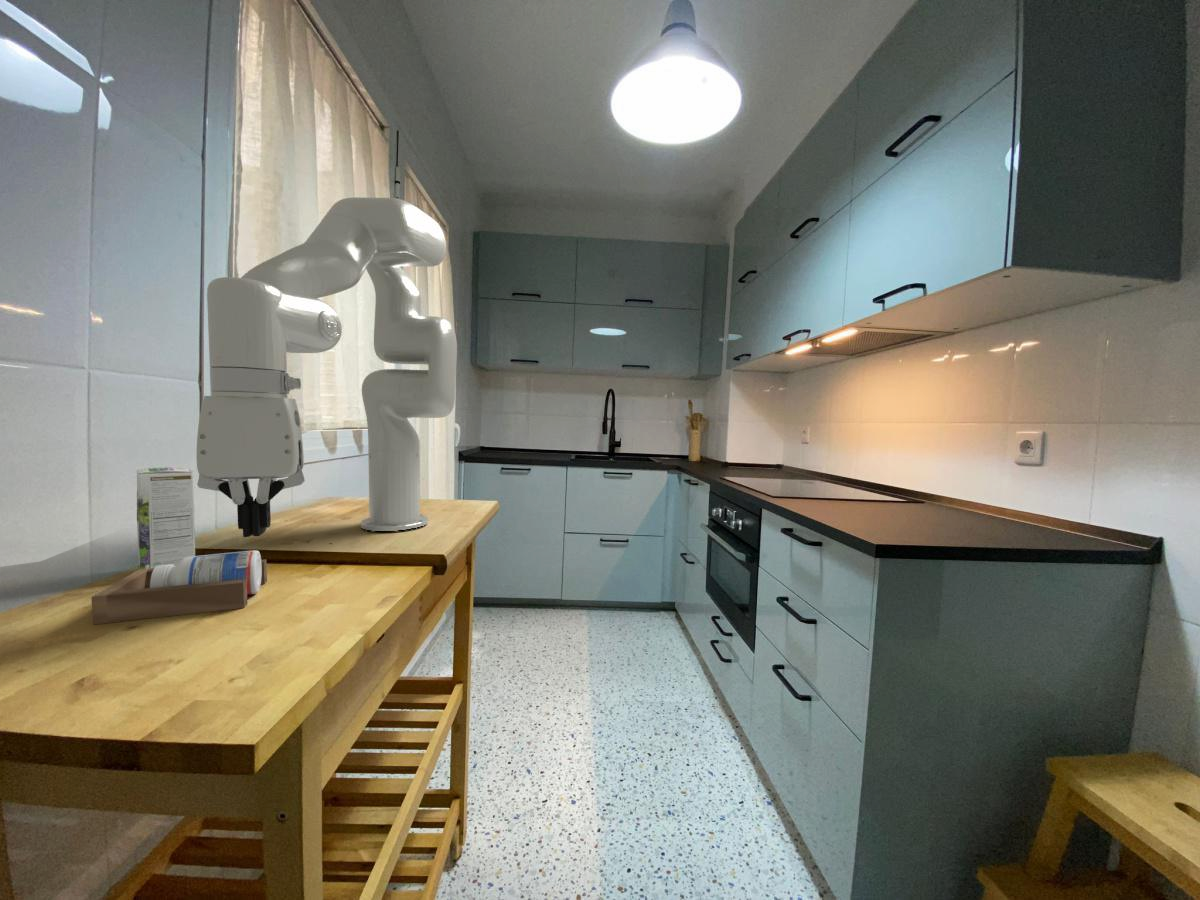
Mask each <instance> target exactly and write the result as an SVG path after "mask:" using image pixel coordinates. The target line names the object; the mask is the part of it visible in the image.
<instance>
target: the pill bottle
mask: <svg viewBox="0 0 1200 900" xmlns="http://www.w3.org/2000/svg"><path fill="white" fill-rule="evenodd" d="M261 560H262V556H261V553H260V551H259V550H256V549H255V550H254V549H253V550H245V551H244V550H243V551H236V552H235V551H234V552H224V553H214V554H213V553H212V554H204V555H202V554H201V555H195V556H191V557H186V558H184V559H183V560H182V561H181V562H180V563H179V565H177V566H174V565H173V564H171V565H170V564H168V565H160V566H156V567H155V568H154V570H153V572H152V575H151V581H150V588H157V587H168V586H179V585H190V584H201V583H212V582H222V581H233V580H244V579H247V596H248V595H255V594H258V593H259V591H260V588H261V585H262V584H261V577H262V564H261Z"/></svg>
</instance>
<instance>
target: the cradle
mask: <svg viewBox="0 0 1200 900" xmlns="http://www.w3.org/2000/svg"><path fill="white" fill-rule="evenodd" d="M261 564H262V577H261V584H260V585H265V584H266V583H268V570H267V569H268V568H267V567H268V566H267V565H268V564H267V558H265V559H264V558H263V559H261ZM153 570H154V568H150V569H139V568H138V570H136V571H134V572H132V573H131V574H129V575H127V576H126V577H124V578H122V579H120V580H118V581H117V582H115V583H113V584H111V585H110V586H108V587H106V588H105V589H102V590H100V591H99V592H97V593H95V594H94V595H93V596H91V598H90V599H91V614H92V616H91V617H92V625H101V624H102V625H103V624H110V623H118V622H128V621H136V620H146V619H147V620H148V619H155V618H163V617H173V616H182V615H192V614H200V613H210V612H218V611H227V610H236V609H244V608H246V606H247V605H248V595H247V579H244V580H233V581H222V582H212V583H201V584H190V585H179V586H168V587H157V588H150V581H151V575H152V572H153Z"/></svg>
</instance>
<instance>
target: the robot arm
mask: <svg viewBox="0 0 1200 900" xmlns="http://www.w3.org/2000/svg"><path fill="white" fill-rule="evenodd" d="M446 253H447V241H446V236H445V233H444V232H443V229H442V227H441V226H440V225H439V223H438V222H437V221H436V220H435V219H434V218H432V217H431V216H430V215H428V214H427V213H426V212H424V211H423V210H421V209H420V208H419V207H417V206H416V205H414V204H413V203H410V202H409V201H406V200H404V199H401V198H398V197H361V196H360V197H359V196H358V197H357V196H356V197H354V196H353V197H346V198H342V199H340V200H338V201H336V202H335V203H334V204H333V205H332V206H330V208H329V210H328V211H327V212H326V214H325V215H324V216H323V218H322V219H321V220H320V222H319V223H318V224H317V226H316V227H315V228H314V230H313V231H312V232H311V234H310V235H309V236H308V238H307V239H306V241H304V242H303V243H301V244H299V245H296V246H294V247H291V248H290V249H287V250H285V251H284V252H282V253H280V254H277V255H276V256H273V257H271V258H268V259H266V260H265V261H262V262H261V263H259V264H257V265H255V266H253V267H252V268H250V270H248V271H246V273H244V274H243V275H242V276H241V277H236V276H223V277H217V278H214V279H212V280H210V282H209V283H208V285H207V290H206V292H207V293H206V301H207V327H208V328H207V329H208V350H209V351H208V355H209V358H208V359H209V380H210V381H209V384H210V385H209V386H210V395H204V396H203V399H202V403H201V408H200V412H199V413H200V414H199V418H198V419H199V420H198V426H197V435H196V438H197V439H196V468H197V469H196V470H197V473H198V474H199V476H198V480H197V483H196V484H197V487H198V488H200V489H202V490H203V489H204V490H209V491H215V492H216V491H218V492H221V493H223V494H224V495H225V496H226V497H228V498H229V499H230V500H232V503H233V504H234V505H236V507H237V511H236V512H237V528H238V529H239V530H242V537H243V538H249V537H251V536H254V537H261V535H263V534H264V533H266V531H267V528H270V526H271V524H272V523H271V519H272V518H271V500H273V499H274V497H275V496H277V495H278V494H279V493H280V492H281V491H283V490H285V489H290V488H293V487H298V486H302V484H304V483H305V477H304V473H303V470H304V464H305V463H304V462H305V456H304V455H305V454H304V443H303V433H302V425H301V417H300V412H299V408H298V404H297V401H296V399H295V398H292V397H291V398H289V397H288V396H289V395H290V392H291V390H292V391H294V390H300V389H301V387H302V382H301V378H299V377H298V378H295V377H294V376H290V375H289V373H288V368H287V366H288V365H287V364H288V363H287V359H288V358H287V353H290V354H319V353H325V352H327V351H329V350H332V349H333V348H334V347H336V345H337V344H339V341H340V339H341V337H342V331H343V330H342V327H343V326H342V321H341V320H340V317H339V315H338V314H337V312H336V311H335V310H334V309H333V307H331V305H329V304H328V303H327V302H325V301H324V300H322V299H319V298H325V297H329V296H332V295H335V294H338V293H341V292H344V291H347V290H350V289H351V288H353V287H355V286H356V285H357V284H358V283H359V281H360V280H361V278H362V276H363V275H364V273H365V271H367V273H368V275H369V278H370V279H371V282H372V284H373V287H374V288H373V289H374V293H375V303H374V304H375V307H374V308H375V309H374V328H373V349H374V353H375V354H376V355H375V356H377V358H378V359H379V360H381V361H382V362H385V363H389V364H397V365H427V367H428V369H404V368H403V369H401V368H399V369H398V368H396V369H395V368H391V369H390V368H387V369H385V368H384V369H379V370H375V371H373V372H372V371H371V372H370V373H369V374H367V376H365V378H364V379H363V381H362V384H361V397H362V401H363V408H364V411H365V417H366V423H367V436H368V437H367V439H368V442H367V444H368V447H367V448H368V455H367V456H368V503H369V504H368V507H369V509H368V512H369V514H368V515H369V517H366V518H364V519H363V520H361V521H360V528H361V529H362V528H363V529H362V530H364V529H366V530H365V531H367V530H371V531H370V532H375V531H395V530H404V529H411V528H416V529H418V528H417V527H420V526H423V527H424V525H425V526H426V525H428V523H429V518H428V516H427V515H424V514H421V468H420V467H421V464H420V462H421V460H420V459H421V458H420V456H421V454H420V447H421V446H420V438H419V437H420V436H419V435H418V433H417V431H416V429H415V428H414V426H413V425H412V424H411V422H410V421H409V419H411V418H419V419H420V418H421V419H424V418H425V419H437V418H439V419H440V418H445V417H447V416H449V415H450V414H451V413H452V411H453V409H454V406H455V400H456V385H457V384H456V383H457V382H456V381H457V360H458V359H457V358H458V357H457V356H458V342H457V335H456V331H455V329H454V326H453V325H452V324H451V322H450V321H448V320H447V319H446V318H444V317H439V316H431V315H430V316H429V315H428V316H427V315H422V313H421V312H422V297H421V293H420V291H419V290H420V289H419V288H418V287H417V284H416V283H415V282H414V281H413V280H412V279H411V278H410V277H409V276H408V274H407V273H406V272H405V271H404V270H403V268H402V267H427V268H428V267H435V266H439V265H441V263H442V262H443V261H444V260H445V257H446ZM254 479H255V480H257V479H258V483H257V492H256V497H255V498H254V496H253V495H252V490H251V487H250V482H249V481H250V480H254ZM420 528H421V527H420ZM411 530H412V529H411ZM395 532H396V531H395Z"/></svg>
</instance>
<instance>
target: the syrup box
mask: <svg viewBox="0 0 1200 900" xmlns="http://www.w3.org/2000/svg"><path fill="white" fill-rule="evenodd" d="M194 489H195V487H194V472H193V470H191V469H190V468H188V467H168V466H167V467H151V468H142V469H137V470H136V526H137V527H136V529H137V553H138V556H137V557H138V570H139V569H150V568H155V567H156V566H160V565H168V564H170V565H171V564H173V565H174V566H177V565H179V563H180V562H181V561H182V560H183V559H184V558H186V557H191V556H196V540H195V539H196V529H195V528H196V527H195V526H196V525H195V490H194Z"/></svg>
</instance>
